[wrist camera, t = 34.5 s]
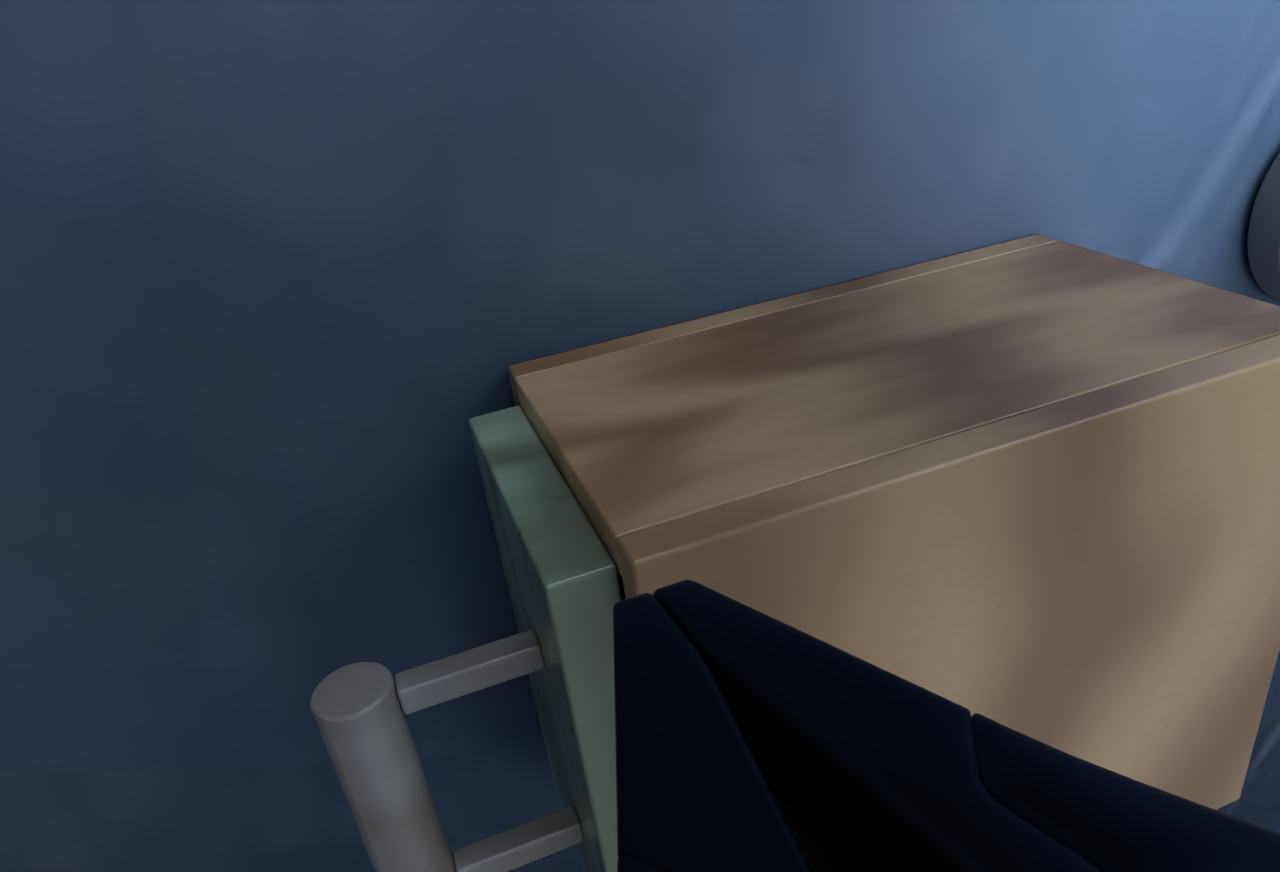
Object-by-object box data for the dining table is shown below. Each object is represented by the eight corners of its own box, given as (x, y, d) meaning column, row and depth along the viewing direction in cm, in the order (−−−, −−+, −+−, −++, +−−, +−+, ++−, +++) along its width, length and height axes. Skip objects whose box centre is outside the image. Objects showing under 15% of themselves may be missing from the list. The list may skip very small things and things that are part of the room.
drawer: (400, 840, 24) (438, 1104, 18) (265, 470, 19) (258, 678, 13) (966, 630, 28) (1141, 789, 23) (986, 281, 23) (1222, 374, 17)
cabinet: (588, 760, 26) (707, 1050, 19) (506, 364, 20) (631, 563, 13) (1006, 606, 30) (1241, 800, 23) (1037, 232, 24) (1367, 330, 17)
